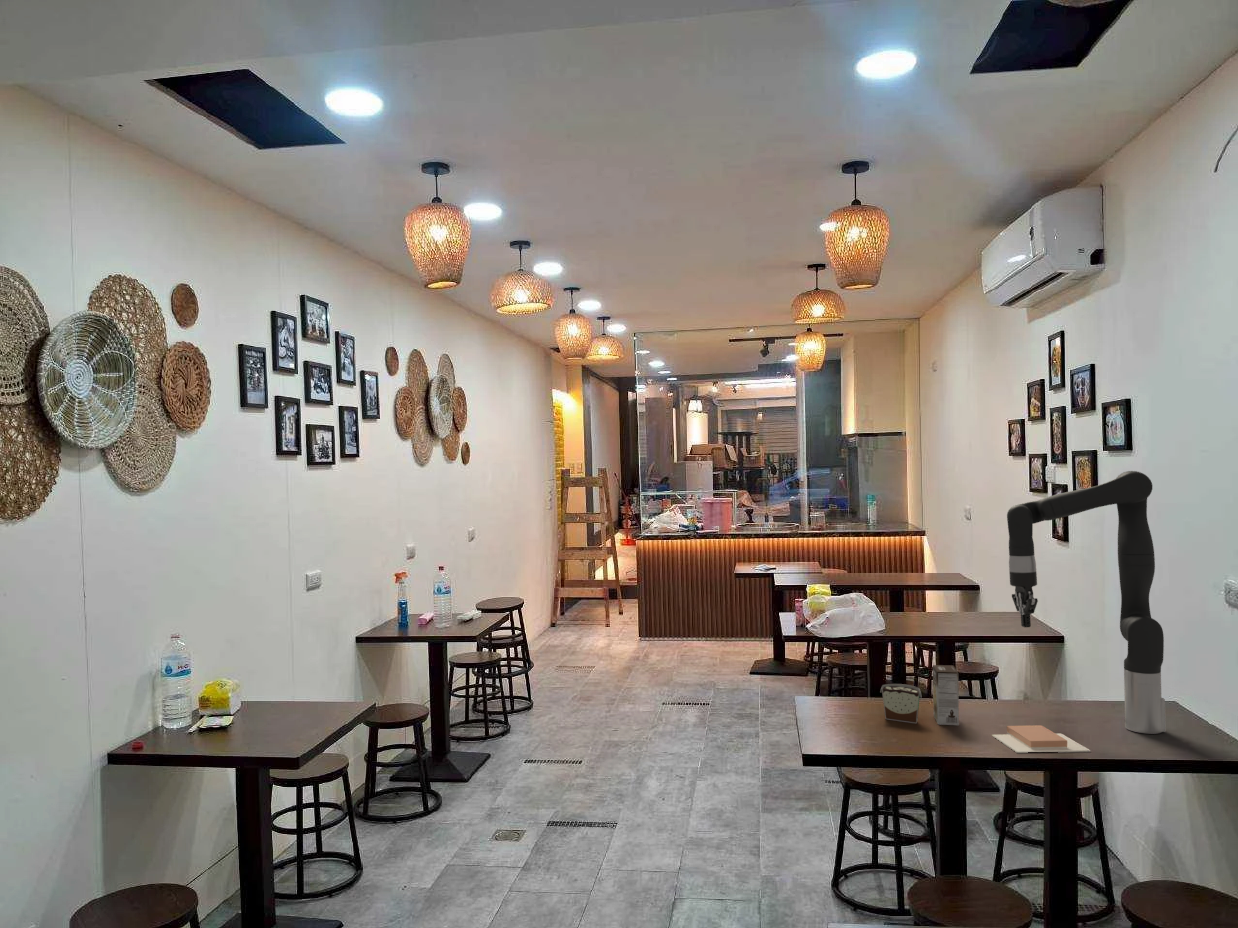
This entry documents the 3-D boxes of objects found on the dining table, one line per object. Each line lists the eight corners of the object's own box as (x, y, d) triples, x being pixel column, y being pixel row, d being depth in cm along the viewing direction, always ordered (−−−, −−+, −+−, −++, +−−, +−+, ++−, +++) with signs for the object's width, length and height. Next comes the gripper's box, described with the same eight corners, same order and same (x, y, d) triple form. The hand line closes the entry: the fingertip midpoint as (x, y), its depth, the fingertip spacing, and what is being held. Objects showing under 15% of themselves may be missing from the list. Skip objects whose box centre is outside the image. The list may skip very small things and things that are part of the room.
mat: (1061, 734, 246) (1061, 733, 246) (1090, 751, 231) (1090, 750, 231) (991, 735, 245) (991, 734, 245) (1016, 753, 230) (1016, 751, 230)
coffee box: (932, 716, 266) (931, 664, 266) (954, 717, 265) (953, 664, 265) (937, 724, 257) (936, 671, 257) (960, 725, 256) (959, 671, 256)
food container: (926, 719, 263) (926, 686, 263) (921, 724, 258) (921, 690, 258) (885, 713, 270) (885, 681, 270) (880, 718, 264) (880, 685, 264)
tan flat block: (1041, 725, 247) (1067, 740, 233) (1041, 732, 247) (1067, 747, 233) (1006, 725, 247) (1030, 740, 233) (1006, 732, 247) (1030, 748, 233)
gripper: (1045, 571, 256) (1048, 630, 255) (1025, 567, 269) (1028, 622, 269) (1019, 572, 256) (1023, 631, 255) (1001, 568, 269) (1004, 623, 269)
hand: (1026, 626), depth 262 cm, fingers closed
